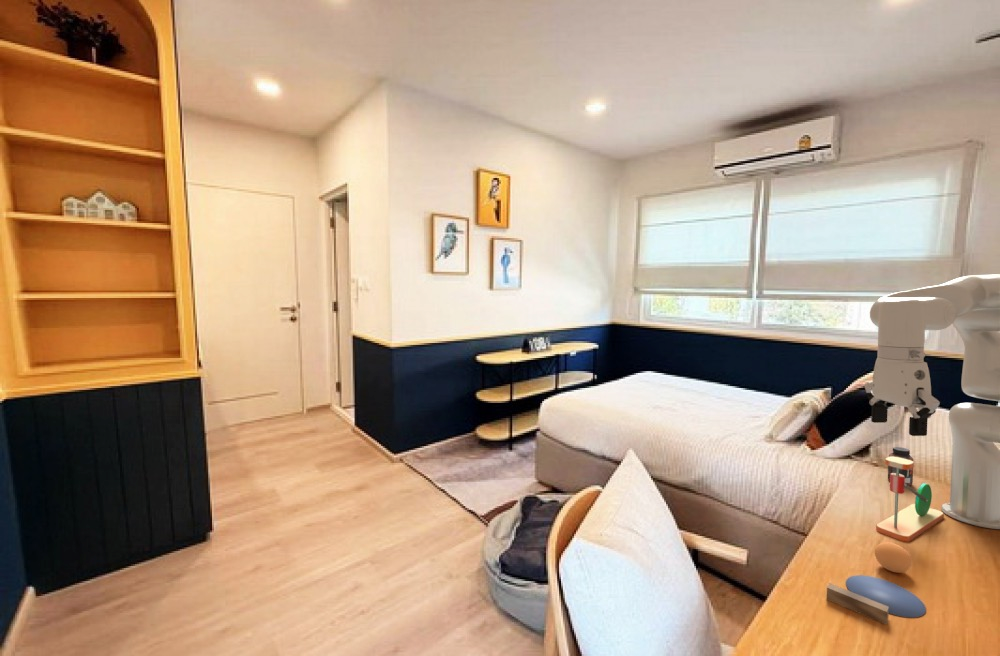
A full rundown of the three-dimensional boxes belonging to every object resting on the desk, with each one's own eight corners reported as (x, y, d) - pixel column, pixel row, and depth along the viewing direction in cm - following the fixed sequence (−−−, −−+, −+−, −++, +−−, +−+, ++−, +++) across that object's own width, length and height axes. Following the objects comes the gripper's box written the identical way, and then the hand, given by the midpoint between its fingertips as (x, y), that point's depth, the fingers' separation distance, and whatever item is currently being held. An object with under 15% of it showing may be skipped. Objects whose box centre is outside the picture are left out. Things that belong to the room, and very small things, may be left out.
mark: (900, 581, 89) (900, 580, 89) (942, 622, 78) (942, 621, 78) (834, 572, 93) (834, 571, 93) (865, 611, 81) (865, 610, 81)
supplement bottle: (915, 488, 133) (916, 453, 132) (890, 484, 136) (891, 450, 135) (909, 481, 138) (910, 447, 137) (885, 477, 141) (886, 444, 140)
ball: (899, 563, 95) (900, 538, 95) (918, 580, 89) (919, 554, 89) (868, 560, 97) (869, 535, 96) (884, 576, 91) (885, 550, 91)
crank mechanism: (907, 543, 103) (910, 467, 102) (873, 530, 109) (876, 458, 108) (945, 517, 115) (948, 449, 114) (913, 507, 121) (916, 442, 120)
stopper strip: (888, 619, 79) (888, 606, 79) (886, 624, 78) (887, 612, 77) (829, 594, 86) (829, 583, 86) (826, 599, 84) (826, 587, 84)
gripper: (957, 359, 85) (954, 441, 86) (883, 349, 102) (881, 417, 103) (919, 359, 85) (916, 441, 86) (852, 349, 102) (850, 418, 104)
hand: (897, 428), depth 95 cm, fingers open, 9 cm apart
